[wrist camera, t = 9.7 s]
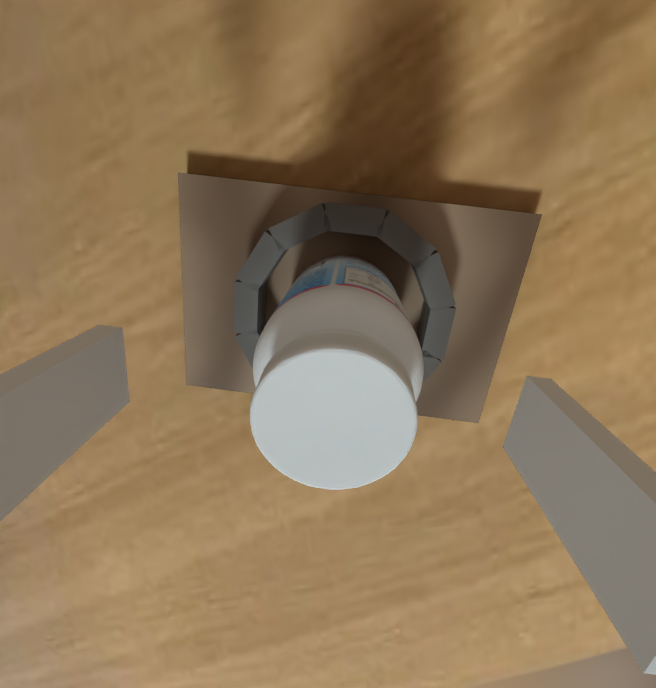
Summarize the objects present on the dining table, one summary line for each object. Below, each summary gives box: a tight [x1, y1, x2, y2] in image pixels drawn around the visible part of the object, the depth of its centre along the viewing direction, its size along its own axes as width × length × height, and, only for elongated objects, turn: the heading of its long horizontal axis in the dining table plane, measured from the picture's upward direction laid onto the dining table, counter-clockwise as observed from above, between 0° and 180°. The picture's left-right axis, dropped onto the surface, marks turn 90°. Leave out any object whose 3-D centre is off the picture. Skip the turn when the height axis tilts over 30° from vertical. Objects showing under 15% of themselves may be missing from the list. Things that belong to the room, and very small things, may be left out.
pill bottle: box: [250, 256, 424, 490], centre depth 15 cm, size 6×6×11 cm
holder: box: [178, 173, 542, 423], centre depth 20 cm, size 18×12×3 cm, turn 84°
